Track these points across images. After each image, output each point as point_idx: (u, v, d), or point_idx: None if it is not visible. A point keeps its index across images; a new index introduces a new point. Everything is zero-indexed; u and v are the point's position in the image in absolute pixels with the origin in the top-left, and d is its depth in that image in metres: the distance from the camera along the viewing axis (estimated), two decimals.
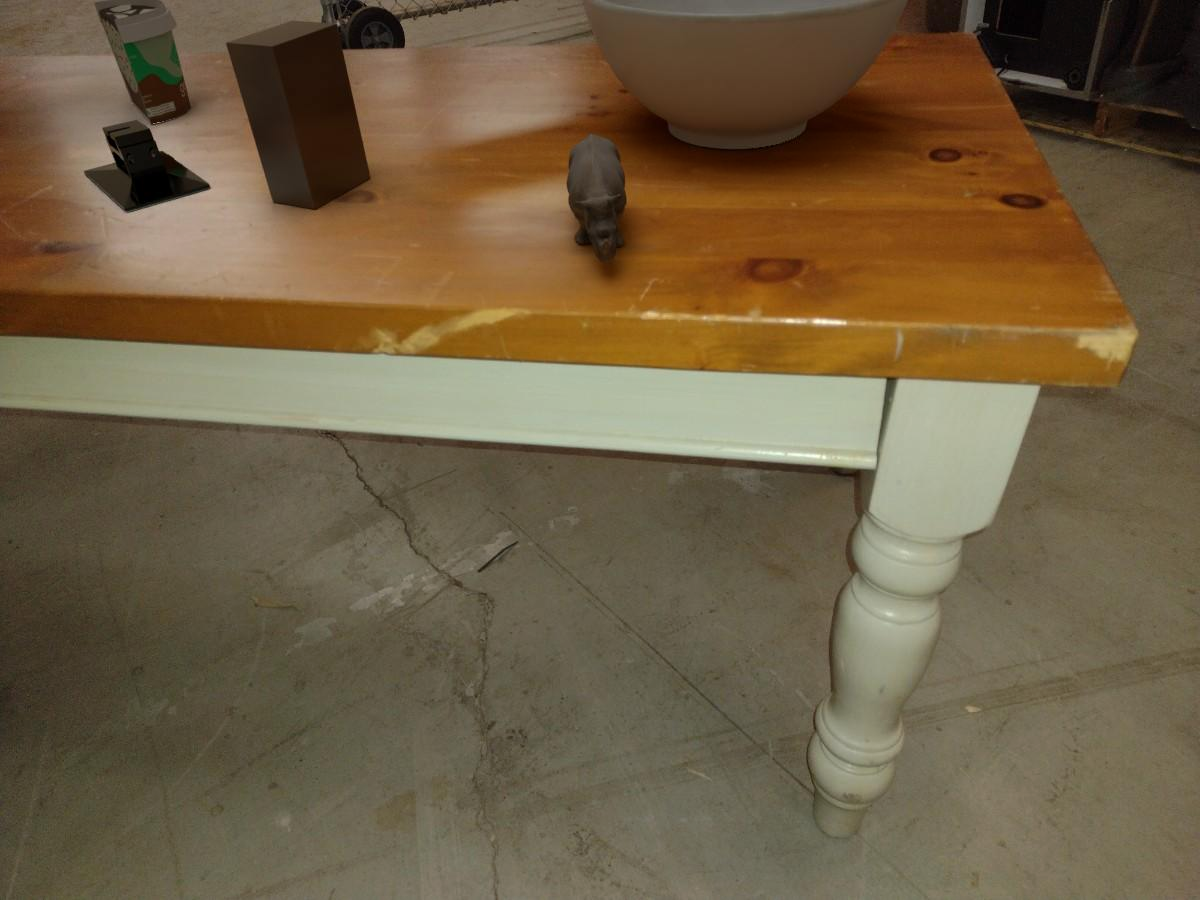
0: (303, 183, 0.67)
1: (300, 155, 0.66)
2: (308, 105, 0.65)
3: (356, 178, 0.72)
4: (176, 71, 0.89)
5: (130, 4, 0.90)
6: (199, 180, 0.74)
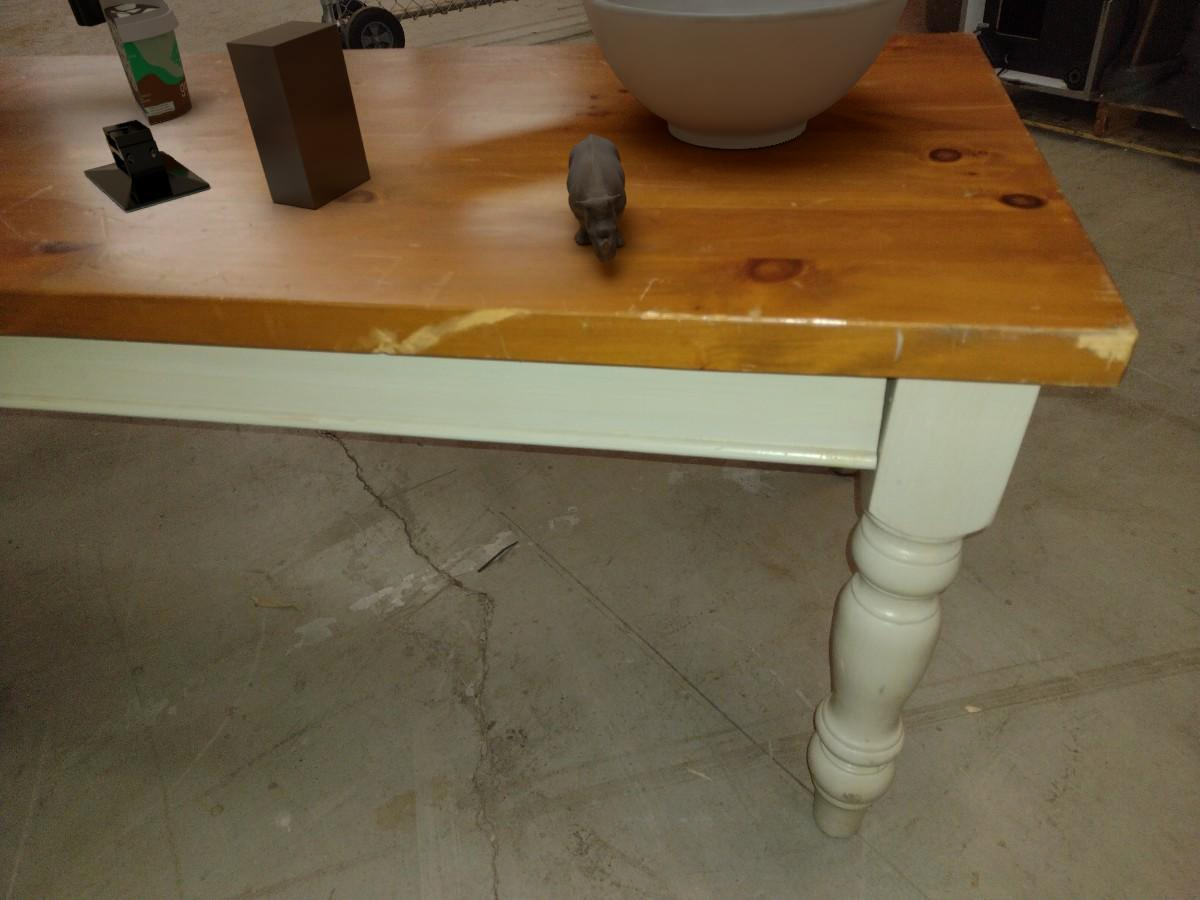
0: (303, 183, 0.67)
1: (300, 155, 0.66)
2: (308, 105, 0.65)
3: (356, 178, 0.72)
4: (177, 71, 0.89)
5: (135, 3, 0.90)
6: (199, 180, 0.74)
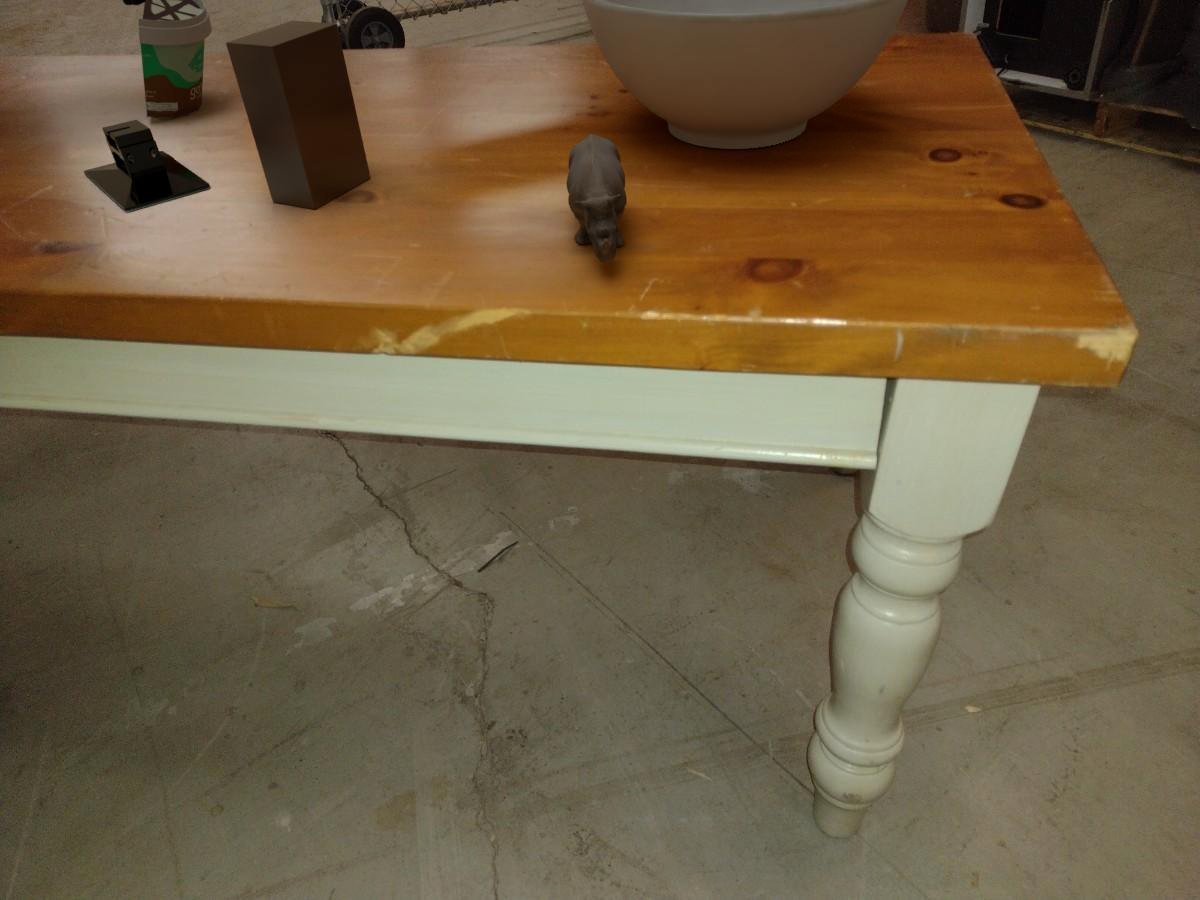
0: (303, 183, 0.67)
1: (300, 155, 0.66)
2: (308, 105, 0.65)
3: (356, 178, 0.72)
4: (192, 76, 0.88)
5: None
6: (199, 180, 0.74)
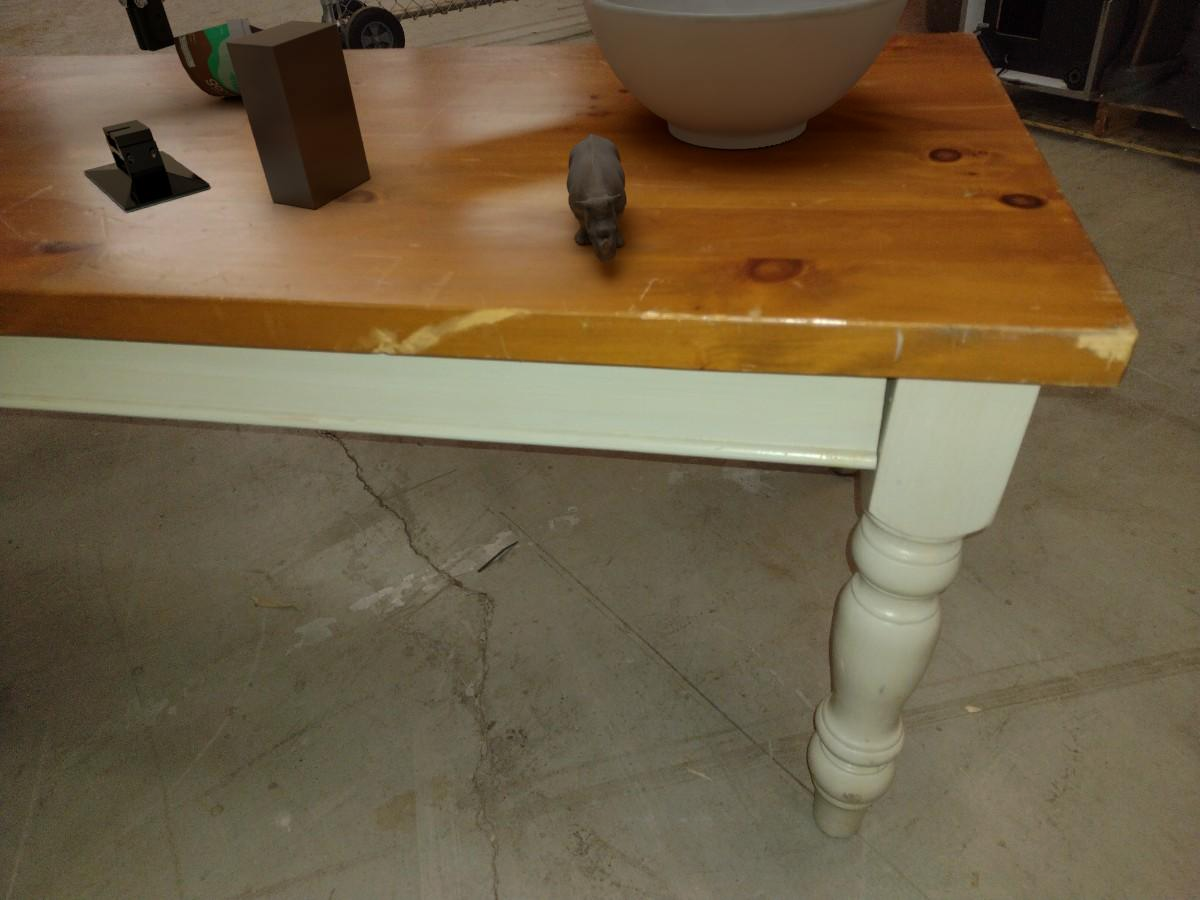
0: (303, 183, 0.67)
1: (300, 155, 0.66)
2: (308, 105, 0.65)
3: (356, 178, 0.72)
4: (224, 78, 0.90)
5: None
6: (199, 180, 0.74)
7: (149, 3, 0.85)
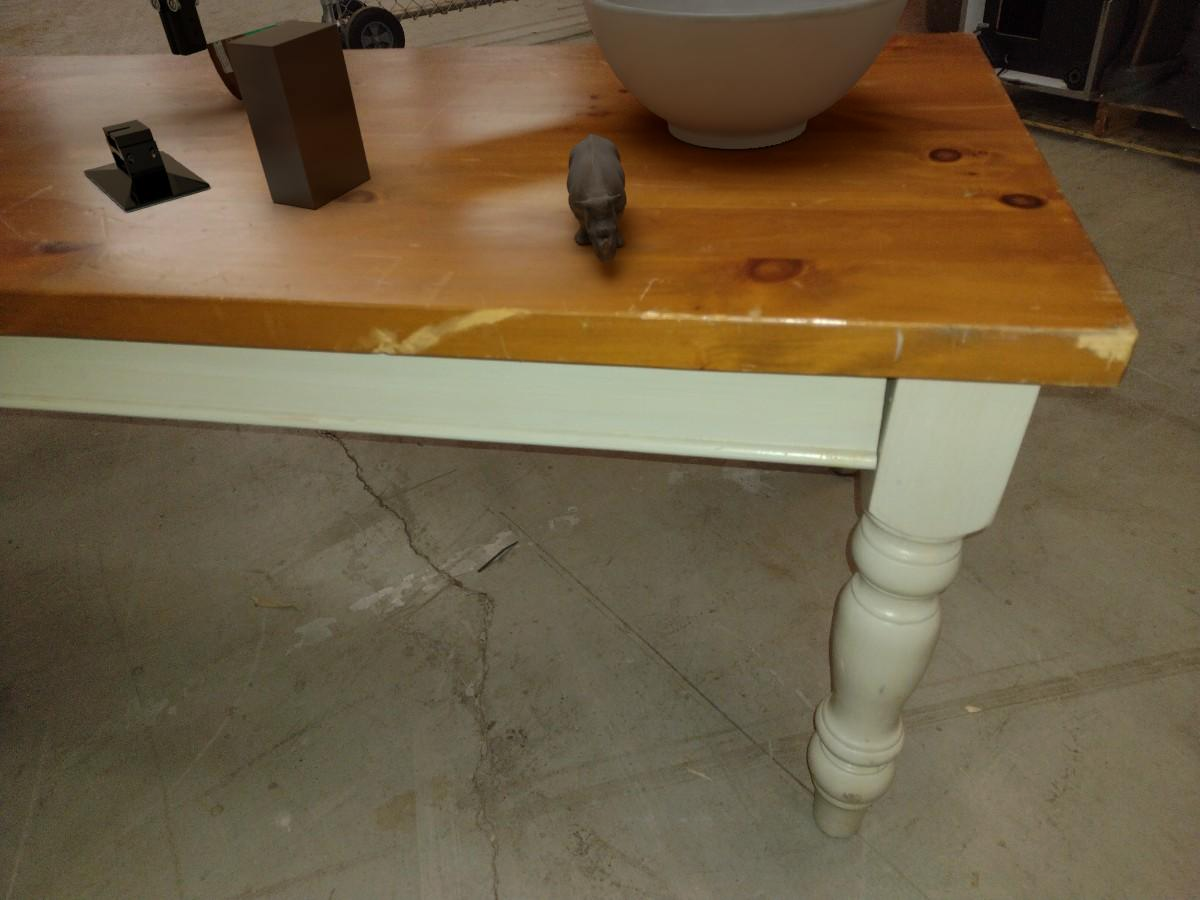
0: (303, 183, 0.67)
1: (300, 155, 0.66)
2: (308, 105, 0.65)
3: (356, 178, 0.72)
4: None
5: None
6: (199, 180, 0.74)
7: (182, 6, 0.83)
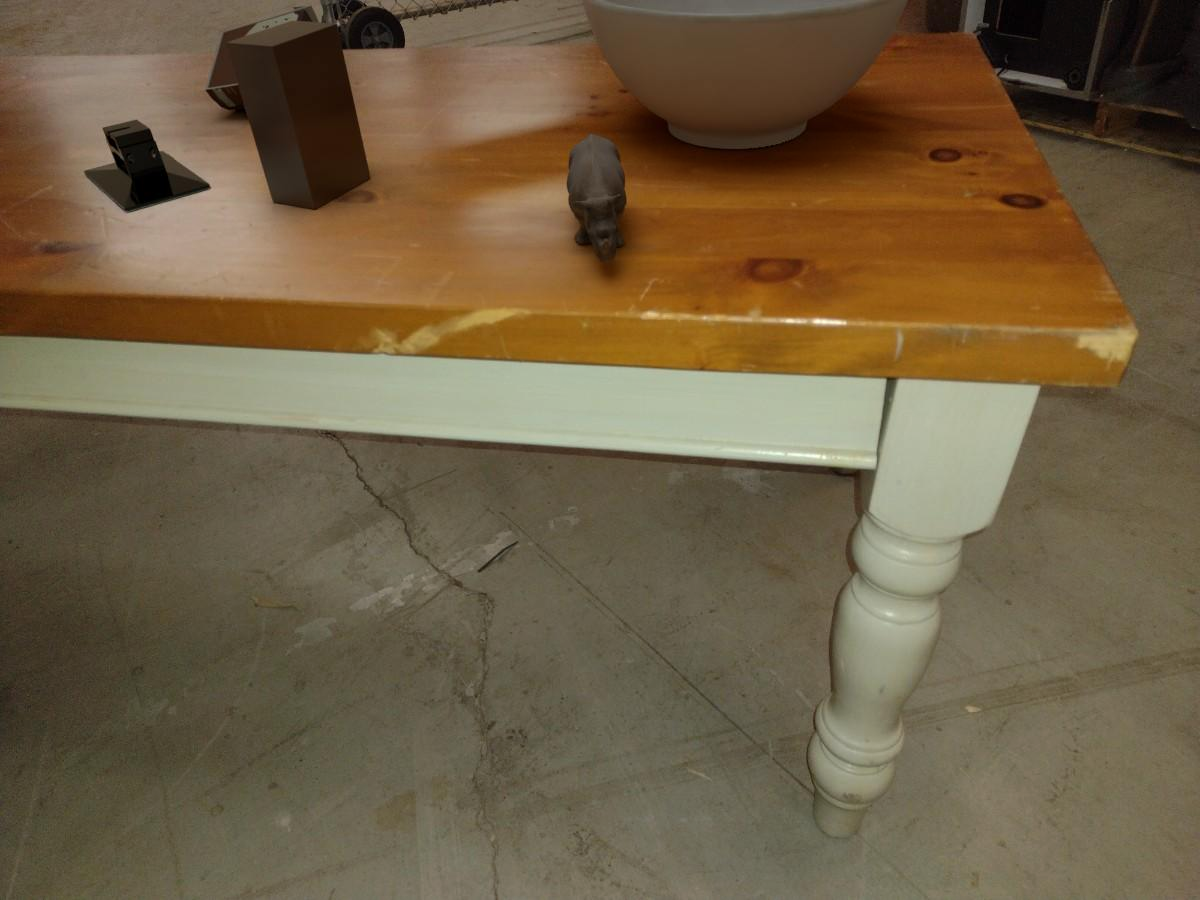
0: (303, 183, 0.67)
1: (300, 155, 0.66)
2: (308, 105, 0.65)
3: (356, 178, 0.72)
4: None
5: None
6: (199, 180, 0.74)
7: None
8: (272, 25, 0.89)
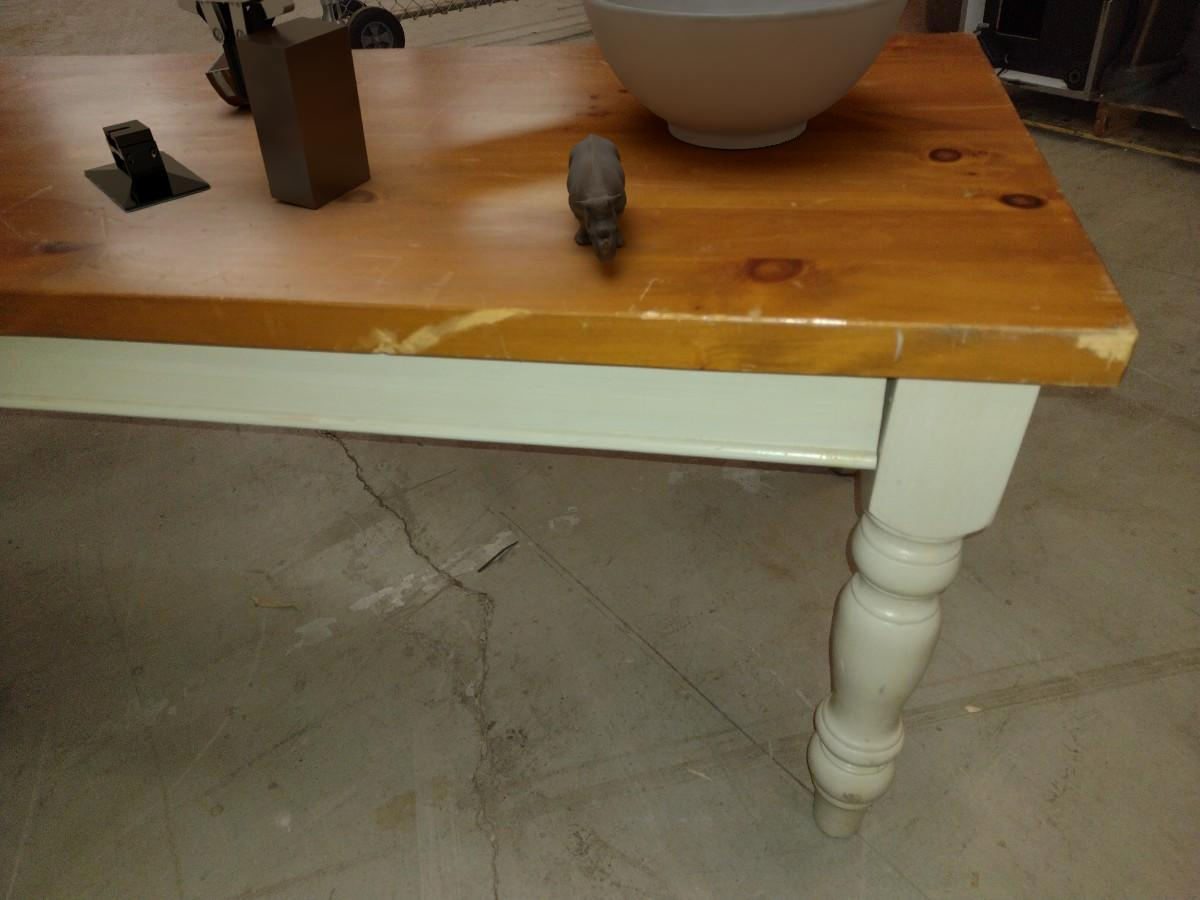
0: (305, 183, 0.67)
1: (303, 156, 0.66)
2: (315, 106, 0.65)
3: (357, 178, 0.72)
4: None
5: None
6: (199, 180, 0.74)
7: None
8: None
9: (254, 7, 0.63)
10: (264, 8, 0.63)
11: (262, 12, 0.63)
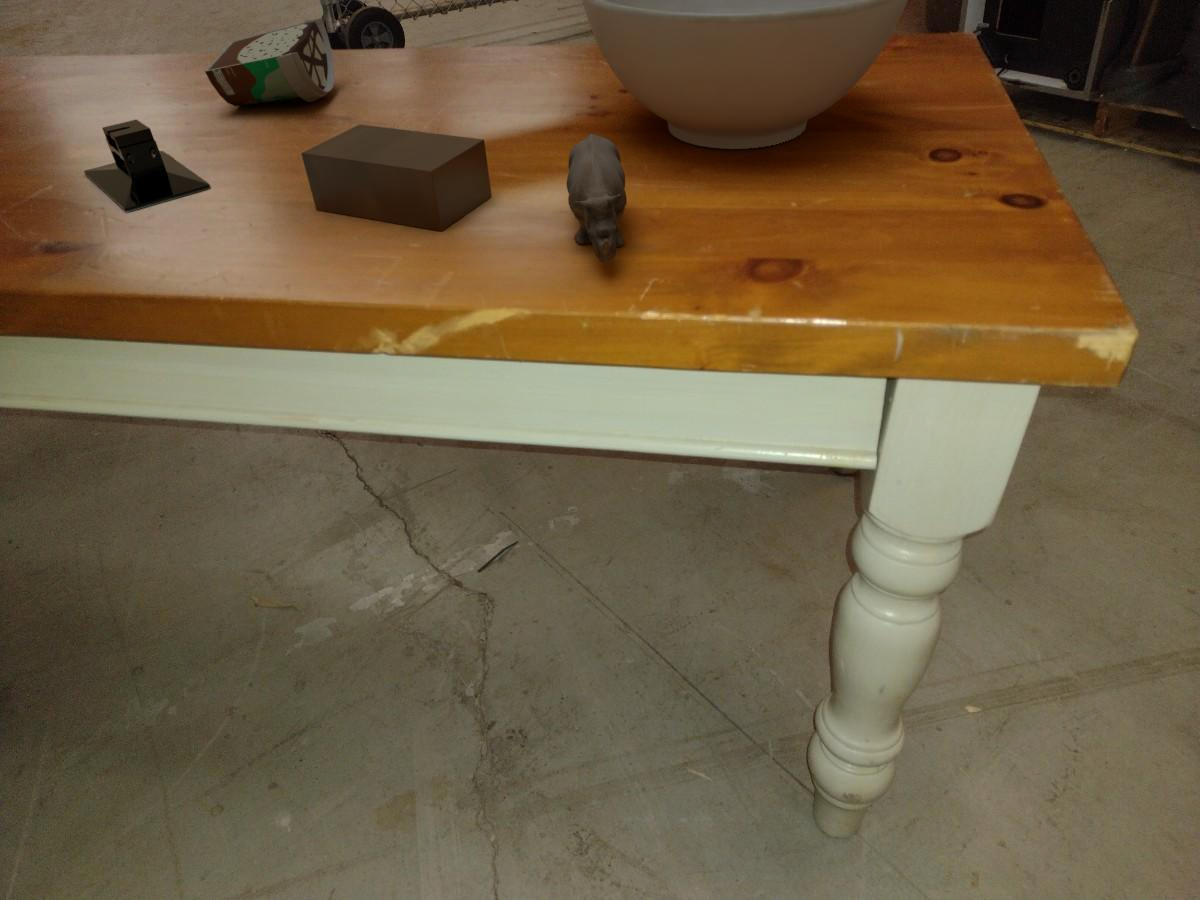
0: (334, 206, 0.67)
1: (358, 215, 0.67)
2: None
3: None
4: (267, 98, 0.90)
5: (327, 52, 0.94)
6: (199, 180, 0.74)
7: None
8: (281, 32, 0.92)
9: None
10: None
11: None
